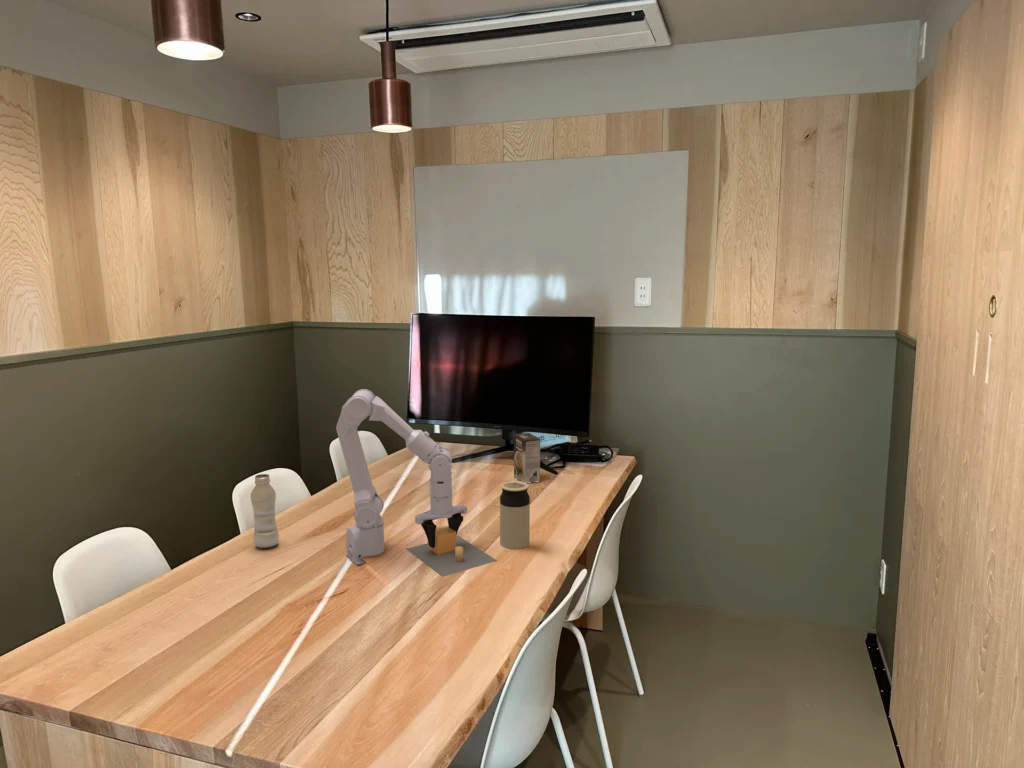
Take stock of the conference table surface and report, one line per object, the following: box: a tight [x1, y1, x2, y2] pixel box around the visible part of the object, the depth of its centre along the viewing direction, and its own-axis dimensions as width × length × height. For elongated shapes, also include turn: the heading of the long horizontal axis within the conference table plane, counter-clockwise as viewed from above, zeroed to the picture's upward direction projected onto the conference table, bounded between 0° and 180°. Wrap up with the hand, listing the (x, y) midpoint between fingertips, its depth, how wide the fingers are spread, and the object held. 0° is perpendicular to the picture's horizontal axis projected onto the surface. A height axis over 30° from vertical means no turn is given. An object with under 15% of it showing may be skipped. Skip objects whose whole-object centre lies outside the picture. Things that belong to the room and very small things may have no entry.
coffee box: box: [513, 432, 541, 483], centre depth 246 cm, size 9×6×16 cm
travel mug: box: [499, 480, 531, 550], centre depth 187 cm, size 8×8×18 cm
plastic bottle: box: [249, 473, 280, 549], centre depth 188 cm, size 6×7×20 cm
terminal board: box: [405, 535, 498, 577], centre depth 180 cm, size 16×20×5 cm
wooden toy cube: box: [427, 525, 457, 555], centre depth 184 cm, size 6×6×5 cm
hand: (442, 543), depth 184 cm, fingers closed on wooden toy cube, 6 cm apart
